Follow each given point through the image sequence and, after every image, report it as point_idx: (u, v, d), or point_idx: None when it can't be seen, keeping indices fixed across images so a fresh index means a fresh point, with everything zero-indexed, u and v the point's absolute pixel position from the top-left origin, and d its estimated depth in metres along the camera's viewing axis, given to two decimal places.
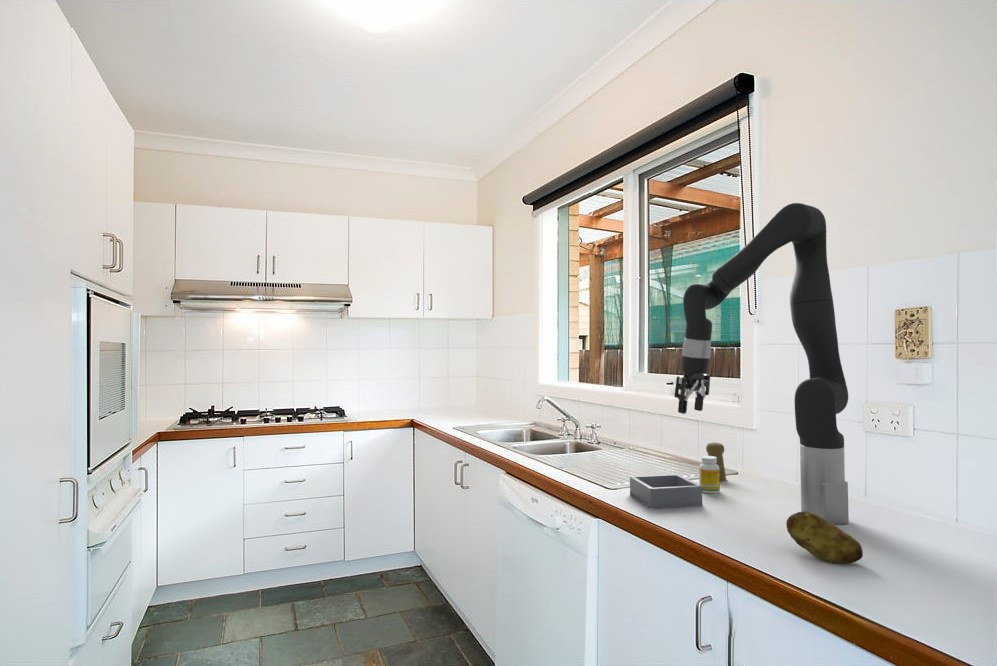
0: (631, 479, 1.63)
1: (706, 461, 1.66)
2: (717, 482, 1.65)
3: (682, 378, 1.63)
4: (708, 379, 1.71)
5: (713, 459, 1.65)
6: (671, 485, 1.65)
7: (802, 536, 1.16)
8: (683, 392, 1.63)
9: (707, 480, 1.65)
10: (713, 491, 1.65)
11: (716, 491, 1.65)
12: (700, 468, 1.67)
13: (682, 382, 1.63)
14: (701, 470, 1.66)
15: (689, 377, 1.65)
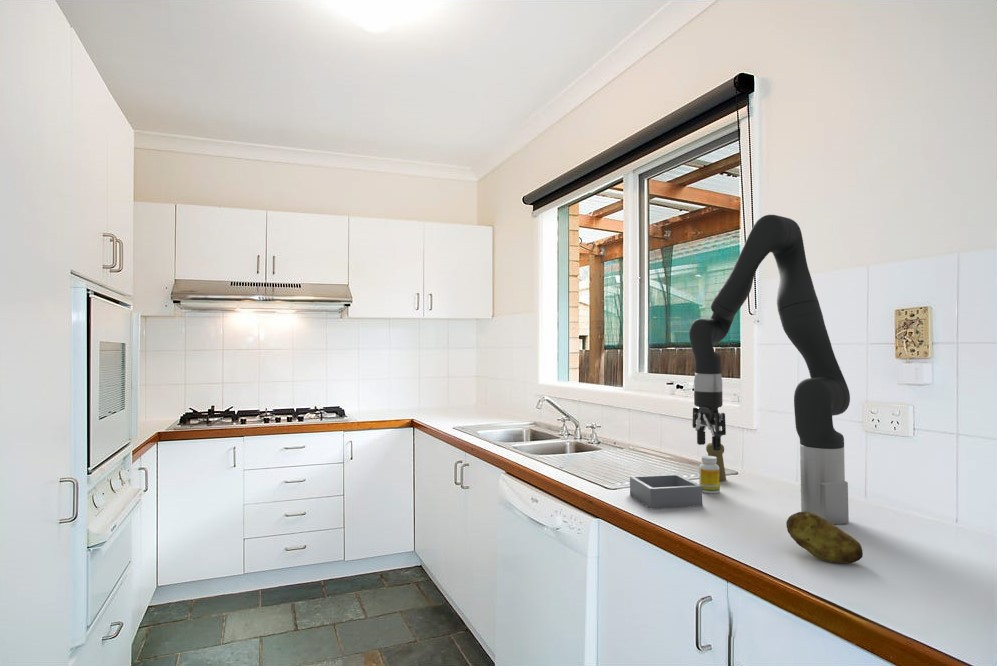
0: (631, 479, 1.63)
1: (706, 461, 1.66)
2: (717, 482, 1.65)
3: (722, 414, 1.61)
4: None
5: (713, 459, 1.65)
6: (671, 485, 1.65)
7: (802, 536, 1.16)
8: None
9: (707, 480, 1.65)
10: (713, 491, 1.65)
11: (716, 491, 1.65)
12: (700, 468, 1.67)
13: (723, 418, 1.61)
14: (701, 470, 1.66)
15: (718, 412, 1.64)
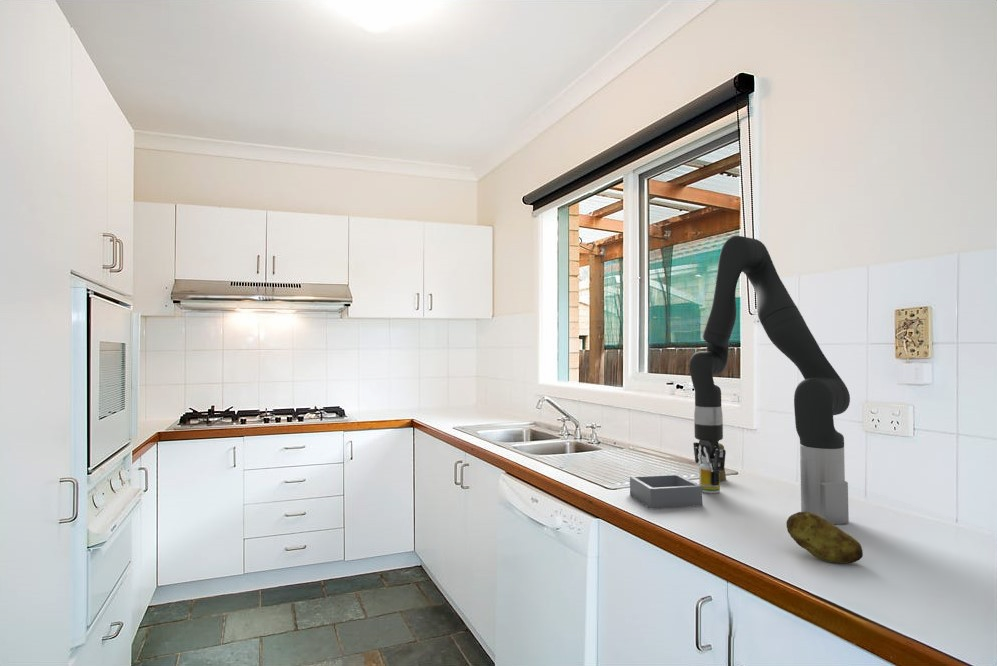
0: (631, 479, 1.63)
1: (706, 461, 1.66)
2: None
3: (722, 451, 1.61)
4: None
5: (713, 459, 1.65)
6: (671, 485, 1.65)
7: (802, 536, 1.16)
8: None
9: (707, 480, 1.65)
10: (713, 491, 1.65)
11: (716, 491, 1.65)
12: (700, 468, 1.67)
13: (723, 455, 1.61)
14: (701, 470, 1.66)
15: None
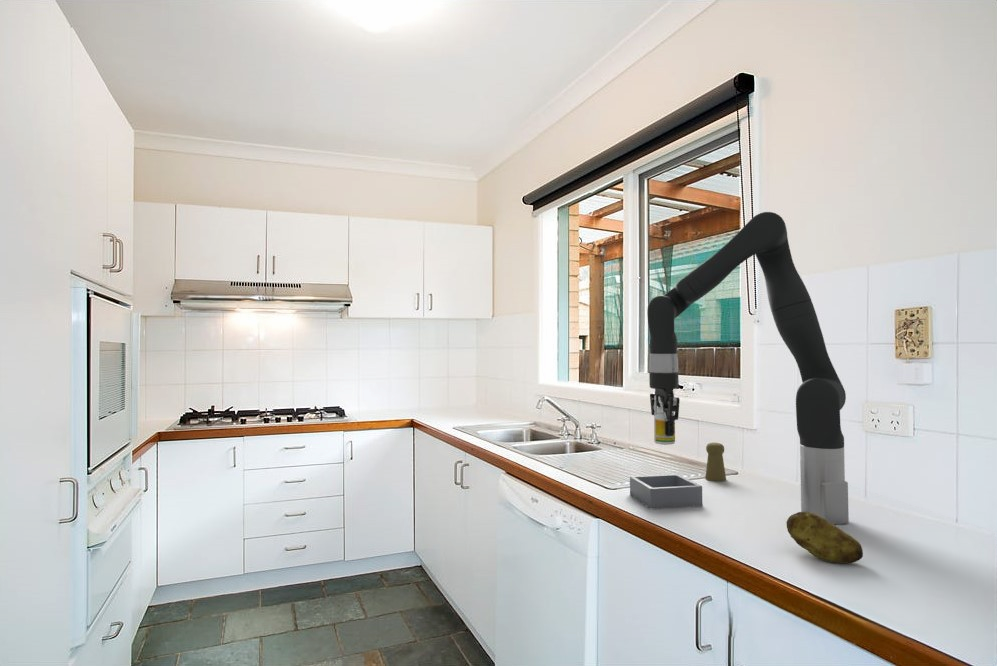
0: (631, 479, 1.63)
1: (660, 411, 1.58)
2: None
3: (676, 399, 1.53)
4: None
5: None
6: (671, 485, 1.65)
7: (802, 536, 1.16)
8: None
9: (661, 431, 1.57)
10: (667, 442, 1.57)
11: (671, 442, 1.57)
12: (655, 419, 1.59)
13: (677, 403, 1.53)
14: (655, 420, 1.59)
15: (673, 395, 1.56)
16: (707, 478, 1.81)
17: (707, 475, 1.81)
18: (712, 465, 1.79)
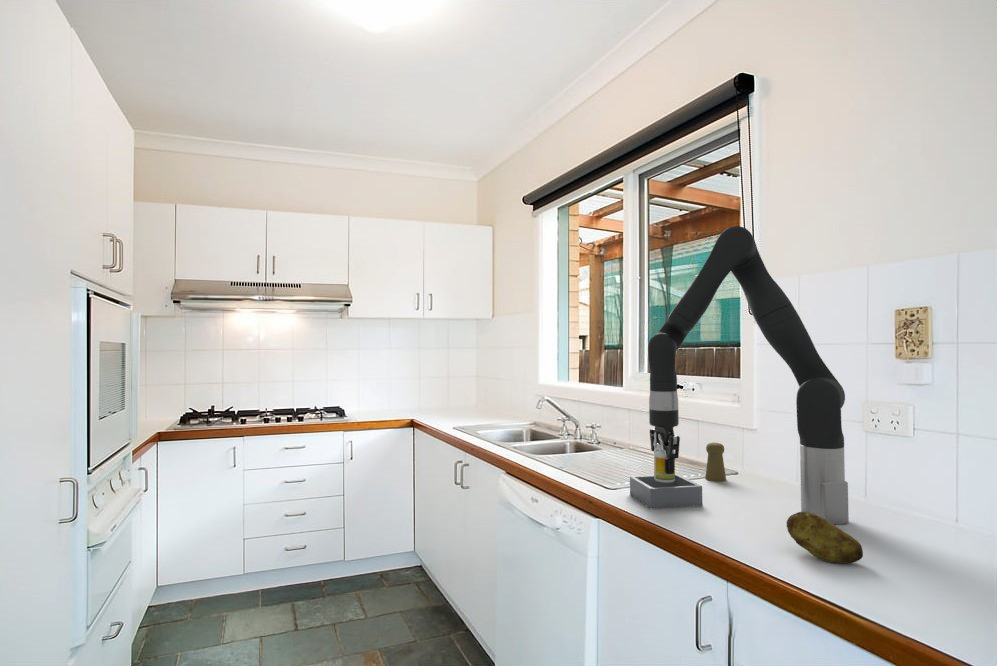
0: (631, 479, 1.63)
1: (660, 448, 1.57)
2: None
3: (676, 437, 1.53)
4: None
5: None
6: (671, 485, 1.65)
7: (802, 536, 1.16)
8: None
9: (661, 468, 1.57)
10: (667, 480, 1.56)
11: (671, 480, 1.56)
12: (655, 456, 1.59)
13: (677, 442, 1.53)
14: (655, 458, 1.58)
15: (673, 433, 1.55)
16: (707, 478, 1.81)
17: (707, 475, 1.81)
18: (712, 465, 1.79)
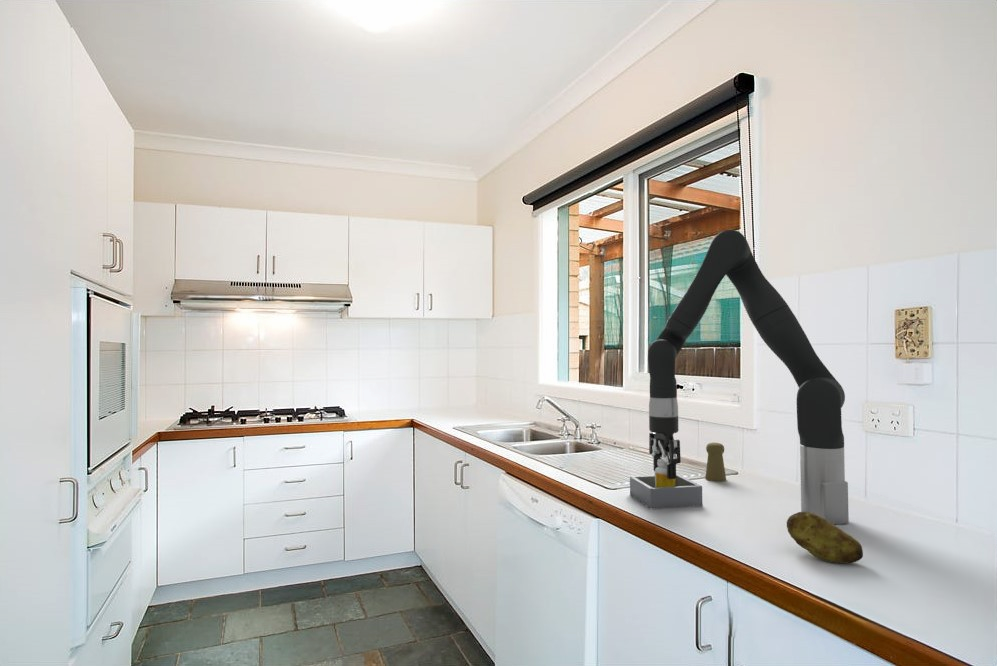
0: (631, 479, 1.63)
1: (661, 464, 1.57)
2: None
3: (676, 441, 1.53)
4: None
5: None
6: None
7: (802, 536, 1.16)
8: None
9: (662, 485, 1.56)
10: None
11: None
12: (655, 472, 1.58)
13: (678, 445, 1.52)
14: (656, 474, 1.58)
15: (673, 438, 1.55)
16: (707, 478, 1.81)
17: (707, 475, 1.81)
18: (712, 465, 1.79)
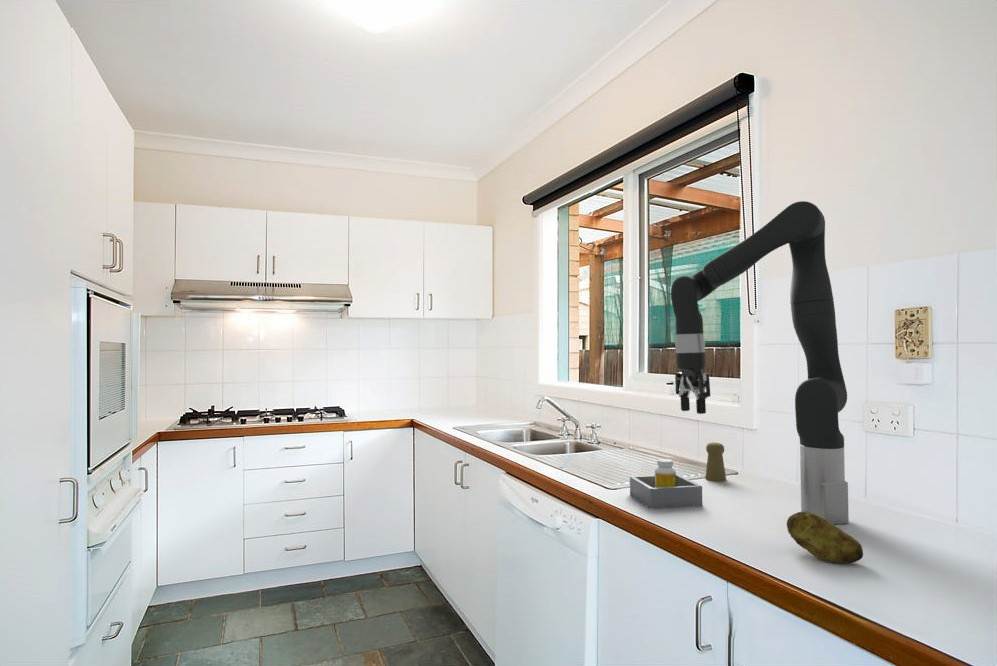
0: (631, 479, 1.63)
1: (661, 464, 1.57)
2: None
3: (705, 374, 1.53)
4: None
5: (669, 462, 1.57)
6: None
7: (802, 536, 1.16)
8: None
9: (662, 484, 1.56)
10: None
11: None
12: (655, 472, 1.58)
13: (707, 379, 1.52)
14: (656, 473, 1.58)
15: (701, 373, 1.55)
16: (707, 478, 1.81)
17: (707, 475, 1.81)
18: (712, 465, 1.79)
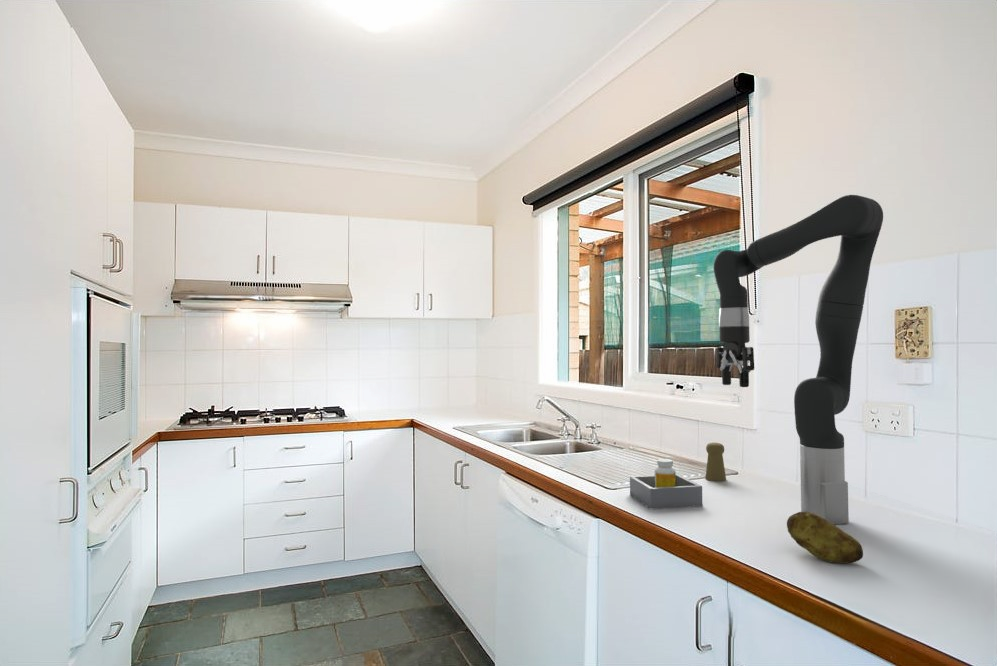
0: (631, 479, 1.63)
1: (661, 464, 1.57)
2: (673, 486, 1.56)
3: (750, 348, 1.53)
4: None
5: (668, 462, 1.57)
6: None
7: (802, 536, 1.16)
8: None
9: (662, 484, 1.56)
10: None
11: None
12: (655, 472, 1.58)
13: (751, 352, 1.53)
14: (656, 473, 1.58)
15: None
16: (707, 478, 1.81)
17: (707, 475, 1.81)
18: (712, 465, 1.79)
